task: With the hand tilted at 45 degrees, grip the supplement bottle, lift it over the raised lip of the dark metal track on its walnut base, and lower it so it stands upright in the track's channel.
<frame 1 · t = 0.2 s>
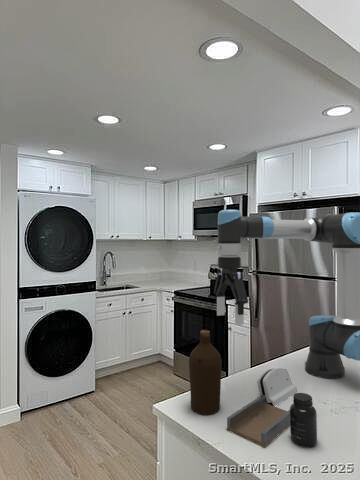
hand: (229, 319, 112), 28 cm above the counter, tool pointing down, fingers open, 13 cm apart
floor track: (263, 423, 99), on the counter
supplement bottle: (303, 441, 90), on the counter
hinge: (276, 396, 117), on the counter
olive oil: (205, 408, 109), on the counter
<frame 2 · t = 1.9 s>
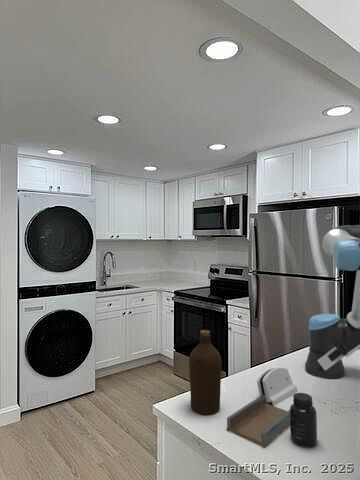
hand: (333, 358, 85), 24 cm above the counter, tool tilted 45°, fingers open, 13 cm apart
nothing on the counter moved.
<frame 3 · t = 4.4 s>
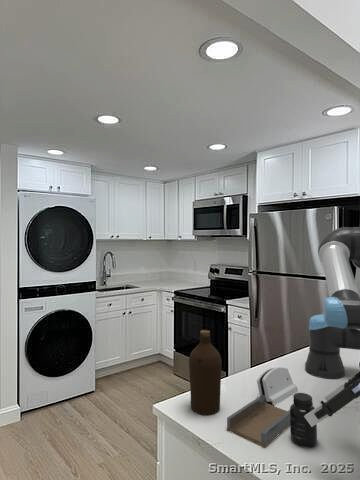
hand: (318, 410, 87), 10 cm above the counter, tool tilted 45°, fingers open, 13 cm apart
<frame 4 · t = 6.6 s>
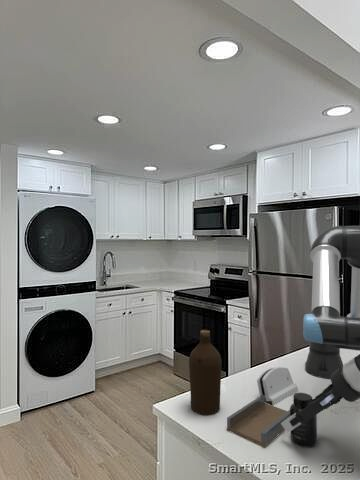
hand: (290, 422, 93), 4 cm above the counter, tool tilted 45°, fingers closed on supplement bottle, 7 cm apart
supplement bottle: (303, 441, 90), on the counter, touching gripper
everything else where it was.
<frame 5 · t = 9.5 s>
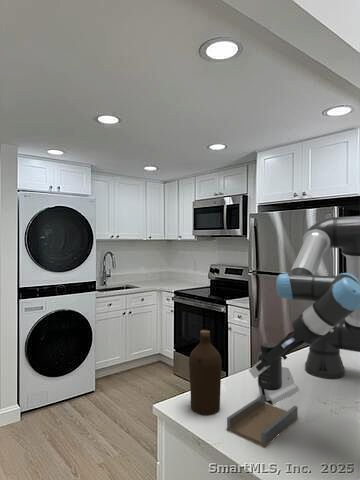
hand: (258, 370, 100), 16 cm above the counter, tool tilted 45°, fingers closed on supplement bottle, 7 cm apart
supplement bottle: (269, 386, 97), point 12 cm above the counter, touching gripper
when the fingers open (6 cm above the counter, at t = 12.5 s): supplement bottle drops 1 cm, resting on floor track.
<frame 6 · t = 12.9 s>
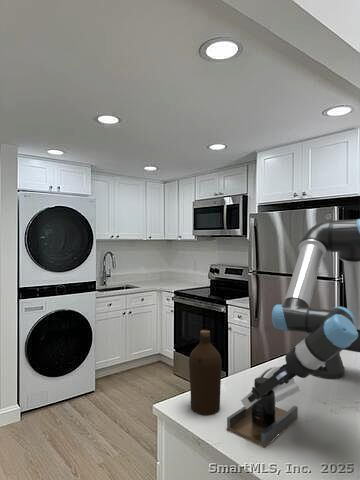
hand: (256, 396, 101), 7 cm above the counter, tool tilted 45°, fingers open, 12 cm apart
supplement bottle: (263, 421, 99), point 1 cm above the counter, touching floor track
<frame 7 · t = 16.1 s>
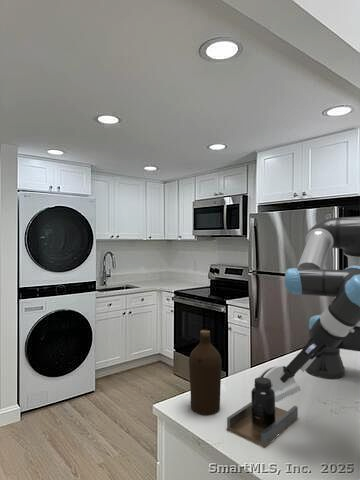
hand: (289, 376, 97), 15 cm above the counter, tool tilted 35°, fingers open, 13 cm apart
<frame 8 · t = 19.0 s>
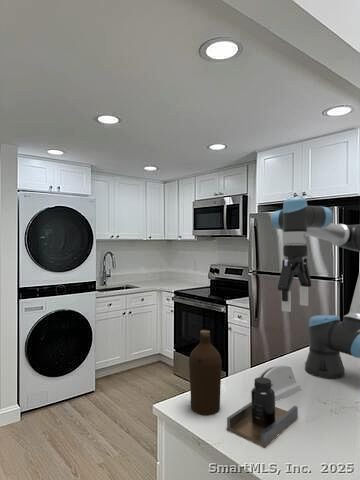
hand: (295, 308, 112), 32 cm above the counter, tool pointing down, fingers open, 13 cm apart
at the end: supplement bottle inside the target area on the floor track (0.1 cm from its centre), point 0.8 cm above the floor track's base; supplement bottle tilted 0°; the gripper is holding nothing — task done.
